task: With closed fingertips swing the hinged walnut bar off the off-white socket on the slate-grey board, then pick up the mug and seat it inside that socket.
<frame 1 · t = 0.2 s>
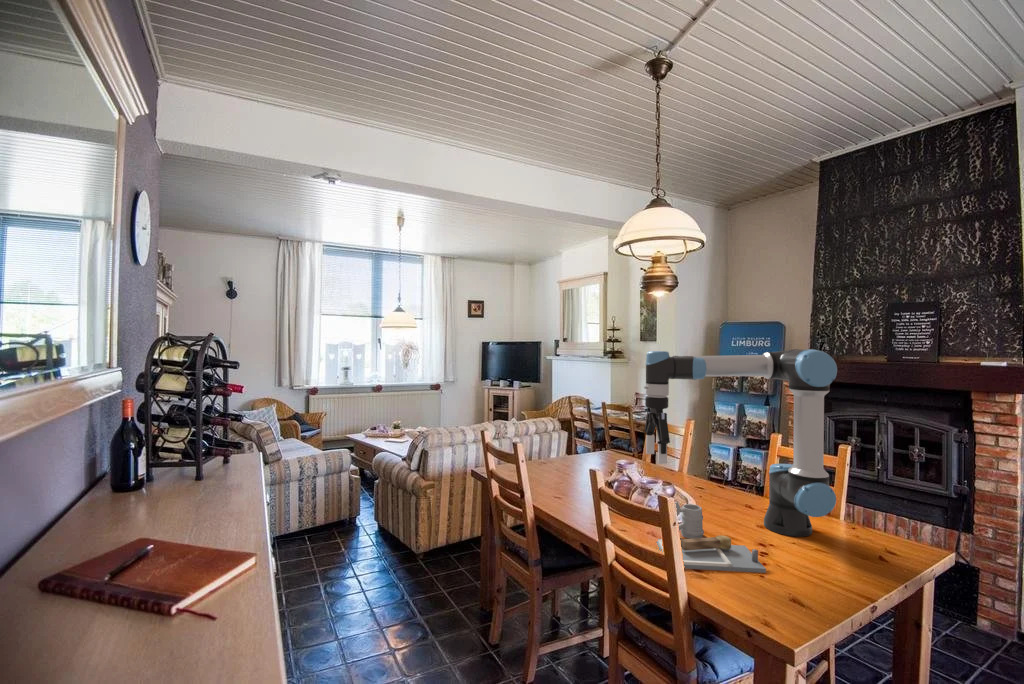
hand: (656, 458, 164), 27 cm above the table, fingers open, 13 cm apart
mug: (686, 536, 166), on the table
board: (707, 558, 149), on the table
bar: (706, 543, 151), point 4 cm above the table, hinge at 15.0°
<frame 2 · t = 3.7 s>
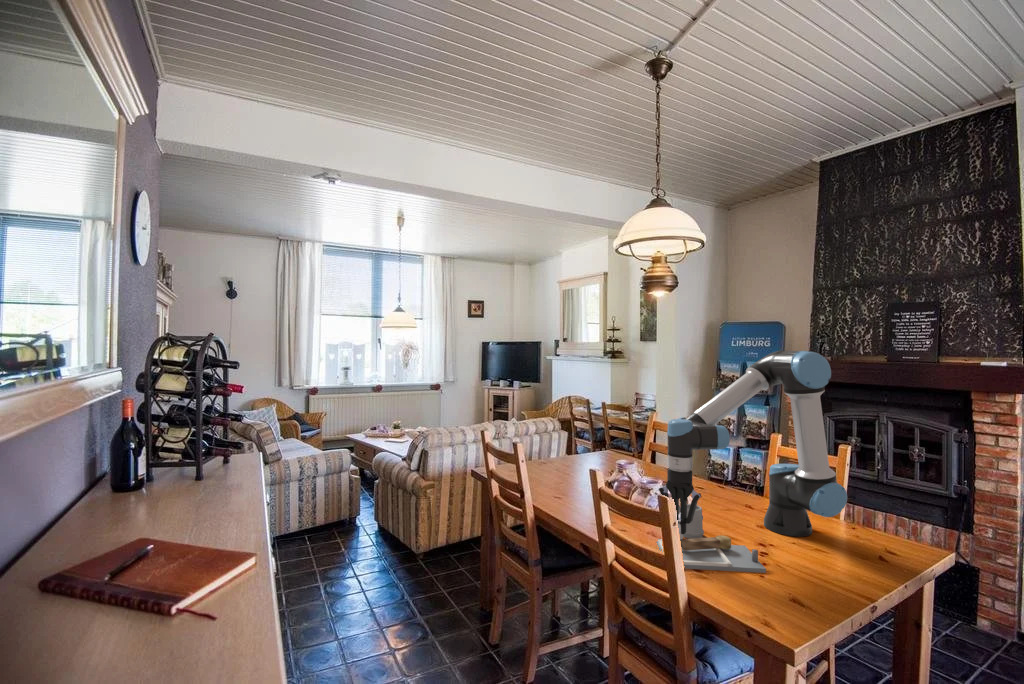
hand: (679, 543, 152), 3 cm above the table, fingers closed
bar: (706, 543, 151), point 4 cm above the table, hinge at 15.0°, touching gripper
everything else where it was.
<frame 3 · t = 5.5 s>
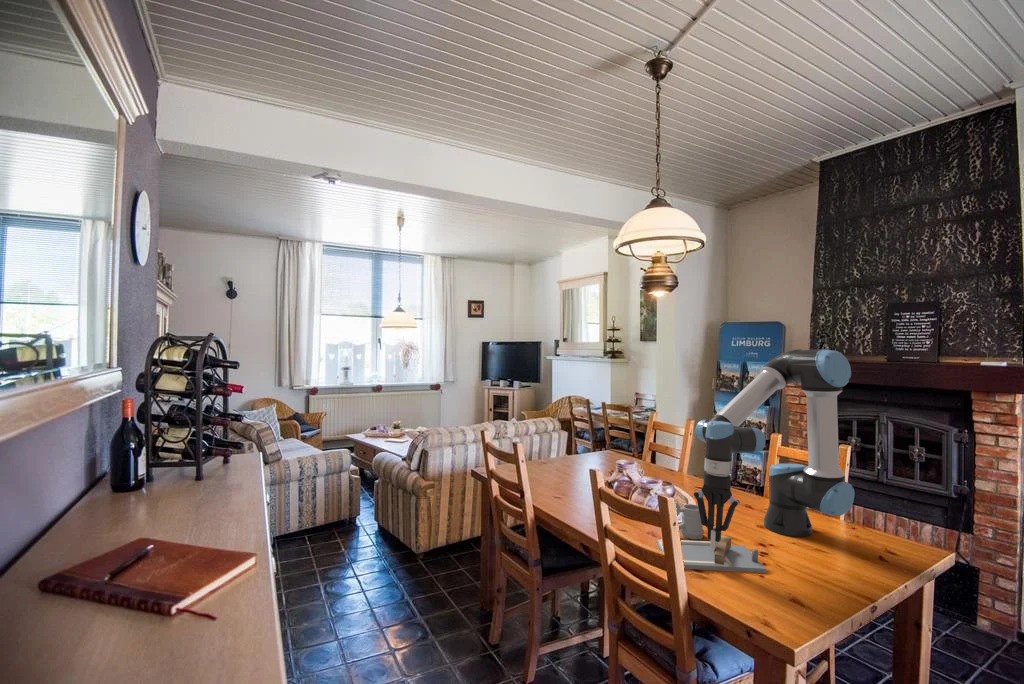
hand: (713, 551, 145), 4 cm above the table, fingers closed
bar: (721, 549, 147), point 4 cm above the table, hinge at 67.2°, touching gripper
everything else where it was.
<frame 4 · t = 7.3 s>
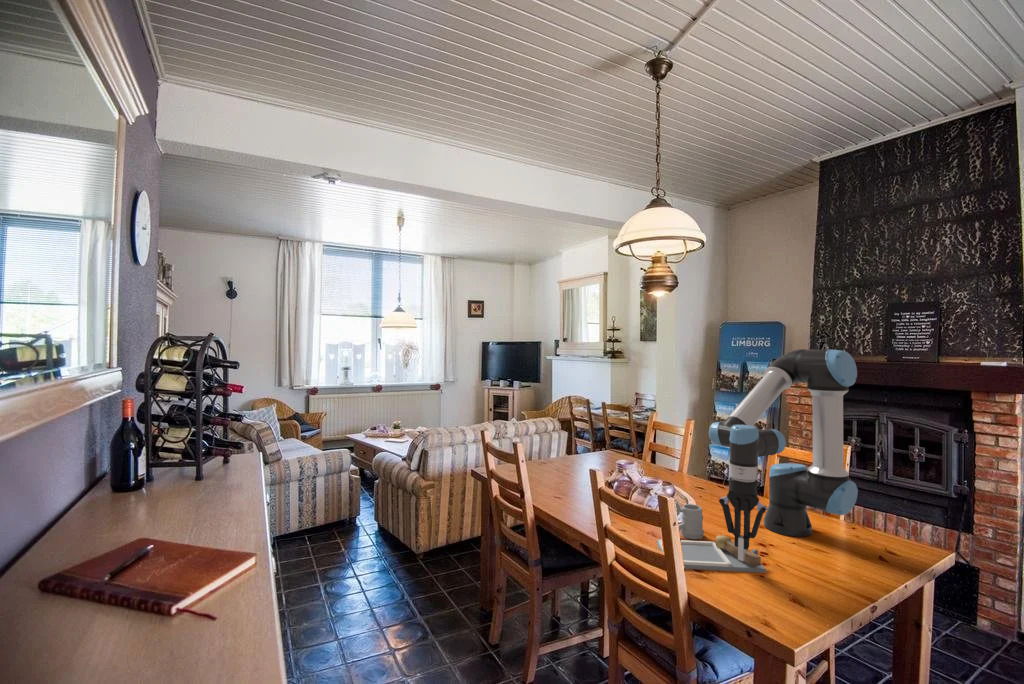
hand: (741, 558, 141), 3 cm above the table, fingers closed
bar: (736, 550, 147), point 4 cm above the table, hinge at 111.6°, touching gripper
everything else where it was.
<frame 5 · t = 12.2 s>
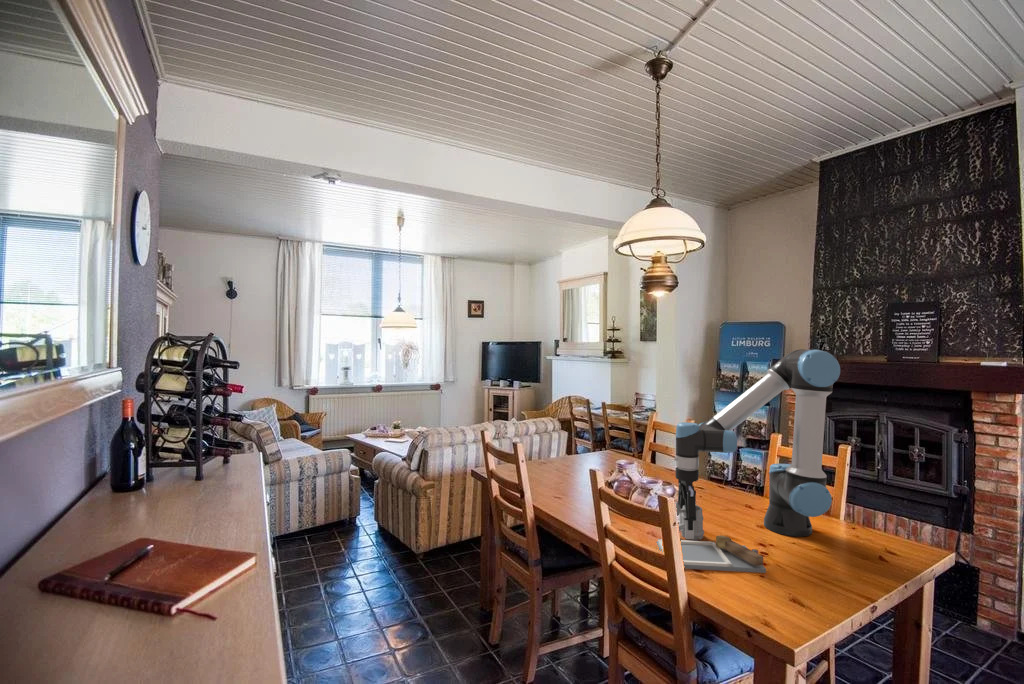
hand: (686, 533, 166), 1 cm above the table, fingers closed on mug, 7 cm apart
mug: (686, 536, 166), on the table, touching gripper
bar: (738, 549, 147), point 4 cm above the table, hinge at 115.5°
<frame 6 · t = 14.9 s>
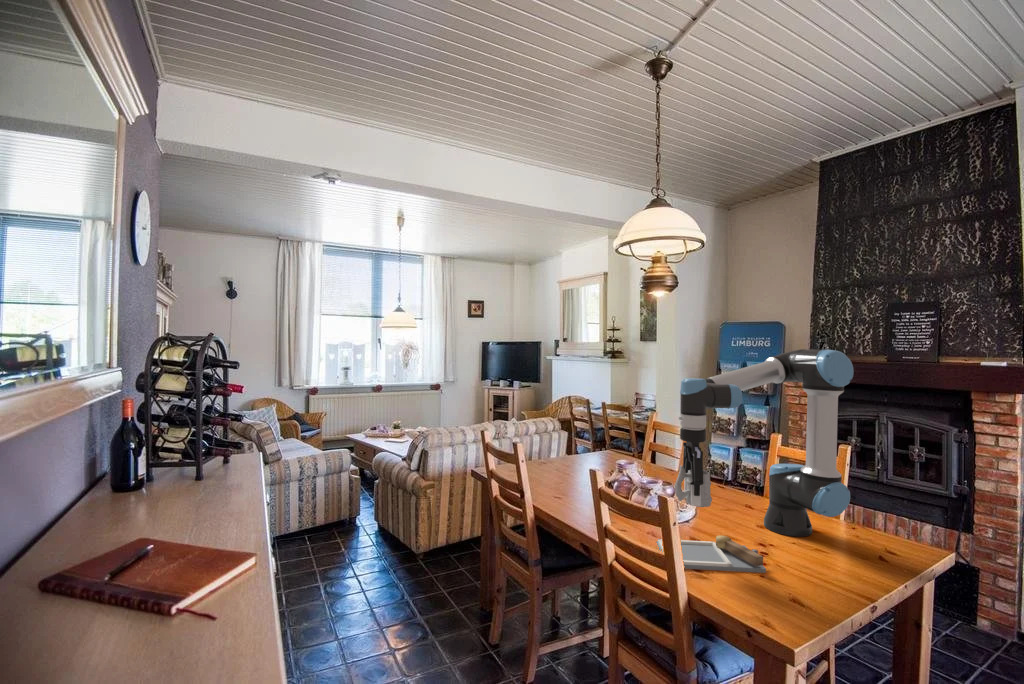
hand: (692, 501, 150), 17 cm above the table, fingers closed on mug, 7 cm apart
mug: (692, 504, 149), point 16 cm above the table, touching gripper
everything else where it was.
when the fingers open (4 cm above the table, at t = 17.8 s): mug drops 2 cm, resting on board.
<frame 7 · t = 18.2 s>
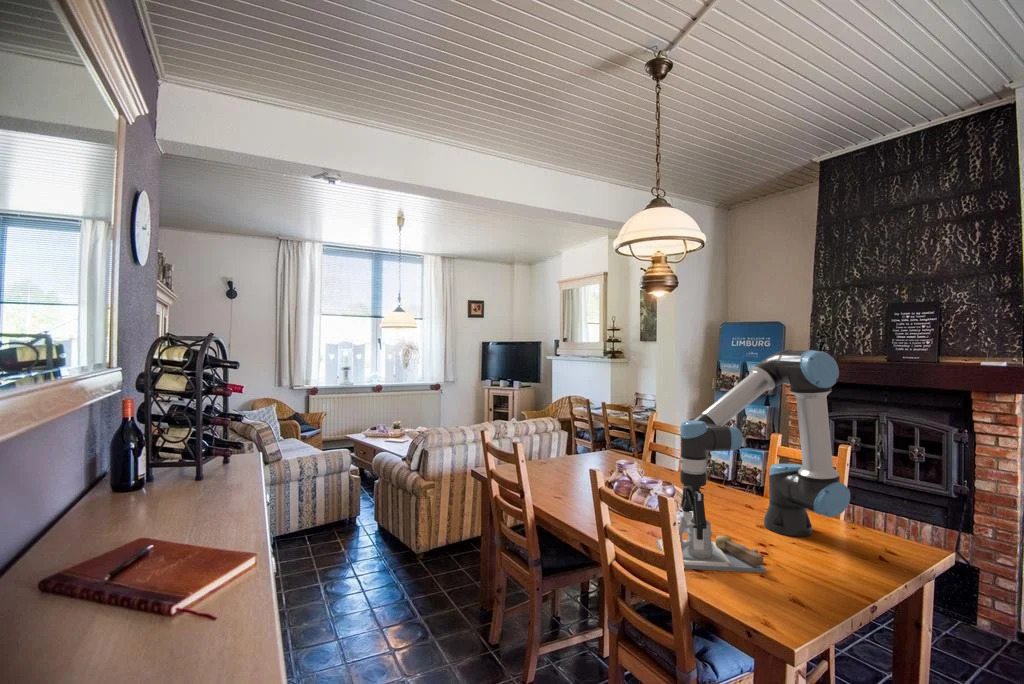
hand: (692, 540, 149), 5 cm above the table, fingers open, 12 cm apart
mug: (693, 554, 149), point 1 cm above the table, touching board
everything else where it was.
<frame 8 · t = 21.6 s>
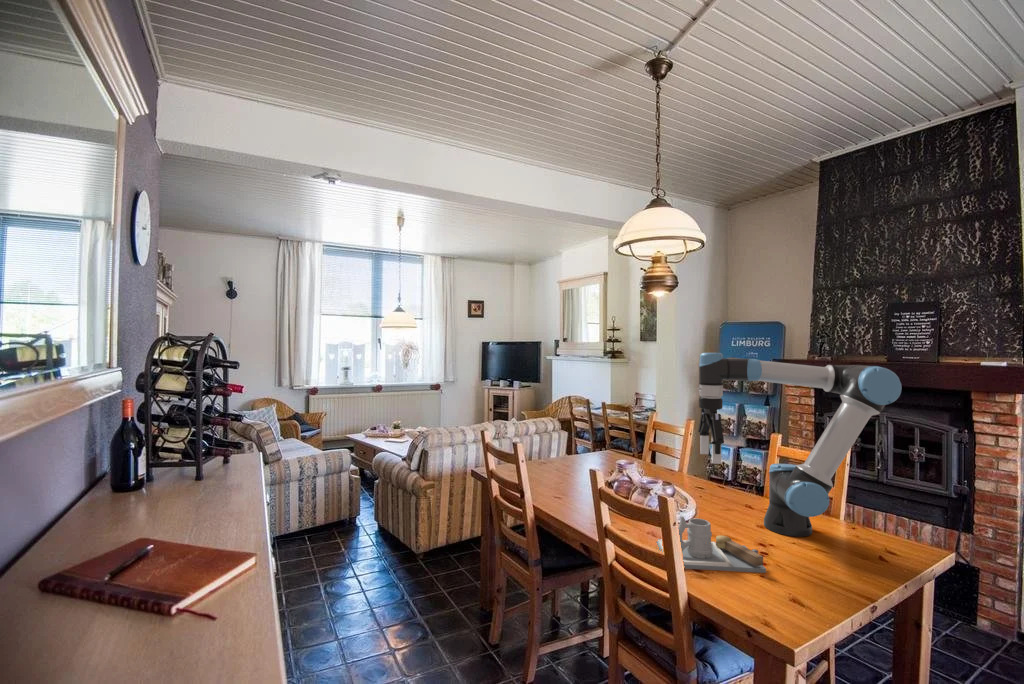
hand: (710, 458, 166), 27 cm above the table, fingers open, 13 cm apart
nothing on the table moved.
at the end: bar at +116° (first picture: +15°); mug inside the target area (0.5 cm from its centre), point 1.0 cm above the table; mug tilted 0° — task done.
